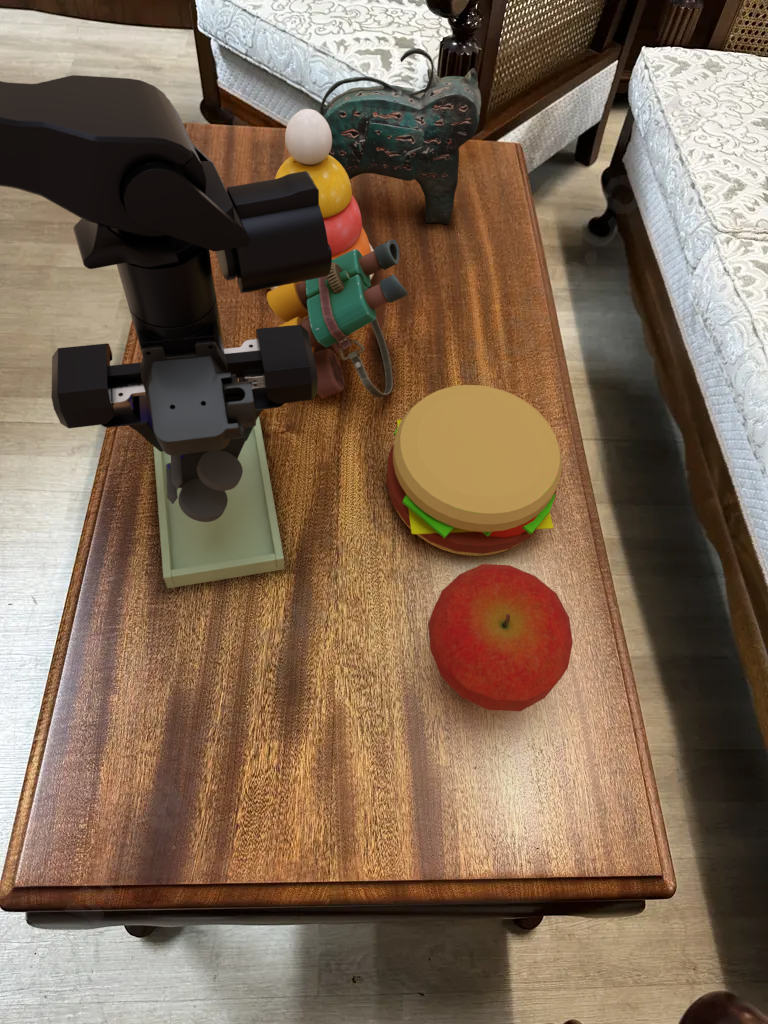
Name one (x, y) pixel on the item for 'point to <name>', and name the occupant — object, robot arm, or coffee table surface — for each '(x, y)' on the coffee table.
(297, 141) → the stacking toy
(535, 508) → the hamburger
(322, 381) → the binoculars
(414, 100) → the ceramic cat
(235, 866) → the coffee table surface
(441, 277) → the coffee table surface
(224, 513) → the tray
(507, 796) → the coffee table surface
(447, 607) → the apple
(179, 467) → the character figurine
